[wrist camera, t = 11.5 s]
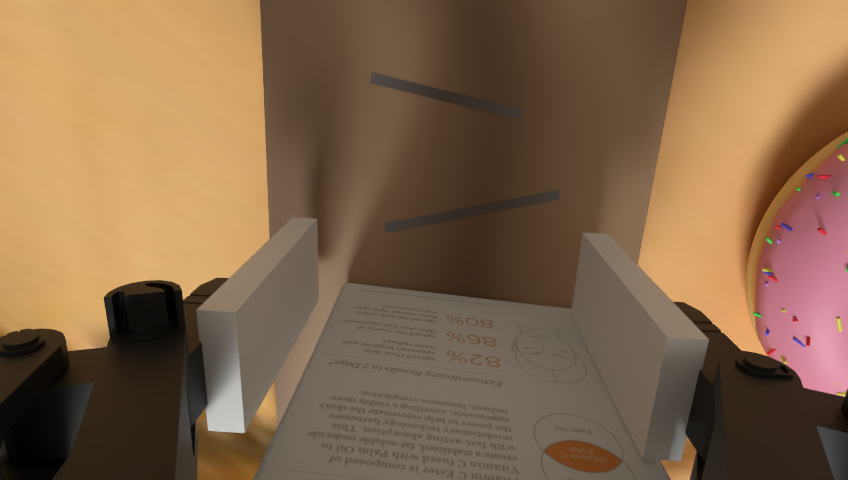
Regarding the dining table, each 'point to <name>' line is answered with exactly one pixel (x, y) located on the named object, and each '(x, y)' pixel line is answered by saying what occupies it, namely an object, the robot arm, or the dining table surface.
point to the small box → (451, 396)
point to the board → (461, 141)
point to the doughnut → (805, 272)
